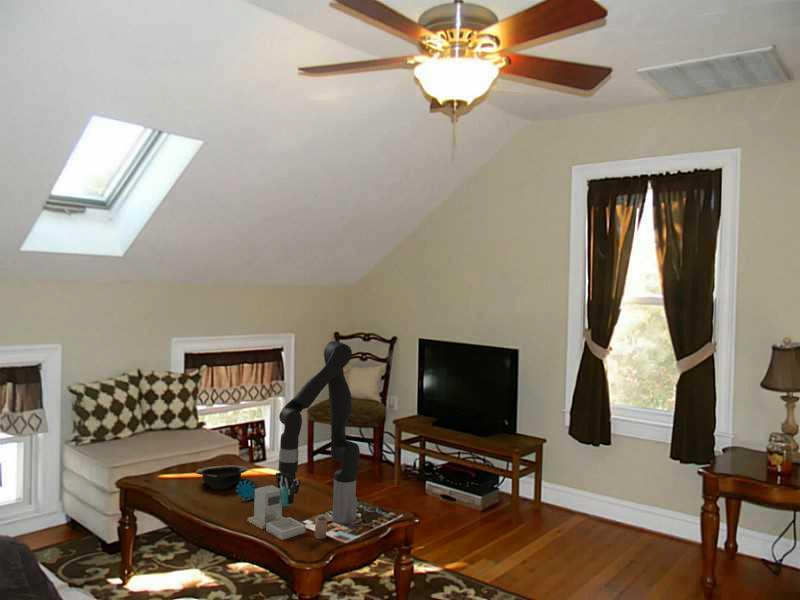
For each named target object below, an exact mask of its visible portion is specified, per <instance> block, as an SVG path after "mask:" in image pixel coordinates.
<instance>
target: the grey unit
mask: <svg viewBox="0 0 800 600" xmlns="http://www.w3.org/2000/svg"><path fill="white" fill-rule="evenodd" d="M254 489H255V496H254V497H255V499H254V502H253V503H254V508H253V510H254V511H253V516H250V517H247V522H248V521H249V522H248V523H250V524H251V523H252V525H253V524H254V525H253V526H255V525H256V526H255V527H256V528H258V527H259V528H258V529H260V528H261V529H260V530H262V529H263V530H266V529H265V528H266V523H270V522H274V521H277V520H281V519H285V518H286V517H284V516H282V515H283V514H282V513H283V505H281V500H280V494H281V491H280V489H279V488H277V486H275V485H273V484H271V485H270V484H269V485H266V486H261V487H257V488H256V487H255V488H254Z"/></svg>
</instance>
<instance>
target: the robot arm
mask: <svg viewBox="0 0 800 600" xmlns="http://www.w3.org/2000/svg"><path fill="white" fill-rule="evenodd" d="M323 356H324V357H323V358H324V363H325V365H324V366H323V367H322V368H321V369H320V370H319V371H318V372H317V373H316V374H315V375H313V376H312V377H310V378H309V379H307V381H306V382H305V383H304V384H303V385H302V387H301V388H300V390H299V391H298V392H297V393H296V395H295V396H294V397H293V398H292V399H291V400H290V401H289V402H288V403H286V405H284V406H283V407H282V409H281V410H280V412H279V418H278V419H279V421H280V422H281V424H283V425H284V430H283V432H282V433H281V436H280V443H279V452H278V455H279V456H278V472H276V473H275V480H276V487H277V488H279V489H280V491H281V490H282V486H284V484H286V488H287V489H288V504H292V505H293V504H294V498H295V495H297V494H298V493H299V489H300V484H301V480H300V479H297V475H296V473H297V472H298V470H299V456H300V455H299V453H300V452H299V437H300V433H301V430H302V425H303V417H302V414H301V412H303V410H305V409H309V408H310V407H311V406H312V404H313V403H314V402H315V400H316V399H317V397H318V396H319V394H320V393H321V392H322V391H323V390H324V389H325V387H326V386H327V387H328V388H327V389H328V403H329V412H330V413H329V414H330V431H331V433H330V436H331V437H330V453H331V458H332V459H333V460H334V461H336V462H338V463H342V465H341V466H342V467H341V469H338V470H336V471H334V474H333V493H332V495H333V497H332V498H333V500H332V501H333V502H332V518H331V519H332V521H333V522H334V523H336V524H343V525H346V524H351V523H353V522H354V521H355V520H357V515H358V514H357V512H358V511H357V510H358V497H357V496H356V489H357V476H358V472H359V466H360V456H361V450H360V446H359V445H358V443H356V442H353V441H350V440H348V439H347V437H346V426H347V423H348V421H349V420H350V417H351V415H352V413H353V412H352V411H353V401H352V393H351V390H350V387H349V384H348V381H347V379H346V377H345V373H344V368H345V367H346V366H347V365H348V364H349V362H350V361H351V359H352V356H353V351H352V349H351V347H350V346H349V345H348V344H346V343H343V342H340V341H336V340H331V341H329V342H328V343H326V345H325V346H324V349H323ZM290 485H292V486H290ZM289 486H290V487H289ZM291 488H292V490H290V489H291ZM280 500H281V494H280Z"/></svg>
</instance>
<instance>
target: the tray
mask: <svg viewBox="0 0 800 600" xmlns="http://www.w3.org/2000/svg"><path fill="white" fill-rule="evenodd" d="M306 529H307V528H306V524H303V523H302V522H301V521H298V520H296V519H295V518H292V517H285V519H281V520H277V521H274V522H270V523H266V529H265V531H266V532H267V533H269V534H271V535H273V536H274V537H276V538H277V539H280V540H282V541H283V540H286V539H291V538H293V537H296V536H300V535H303V534H306Z"/></svg>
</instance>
